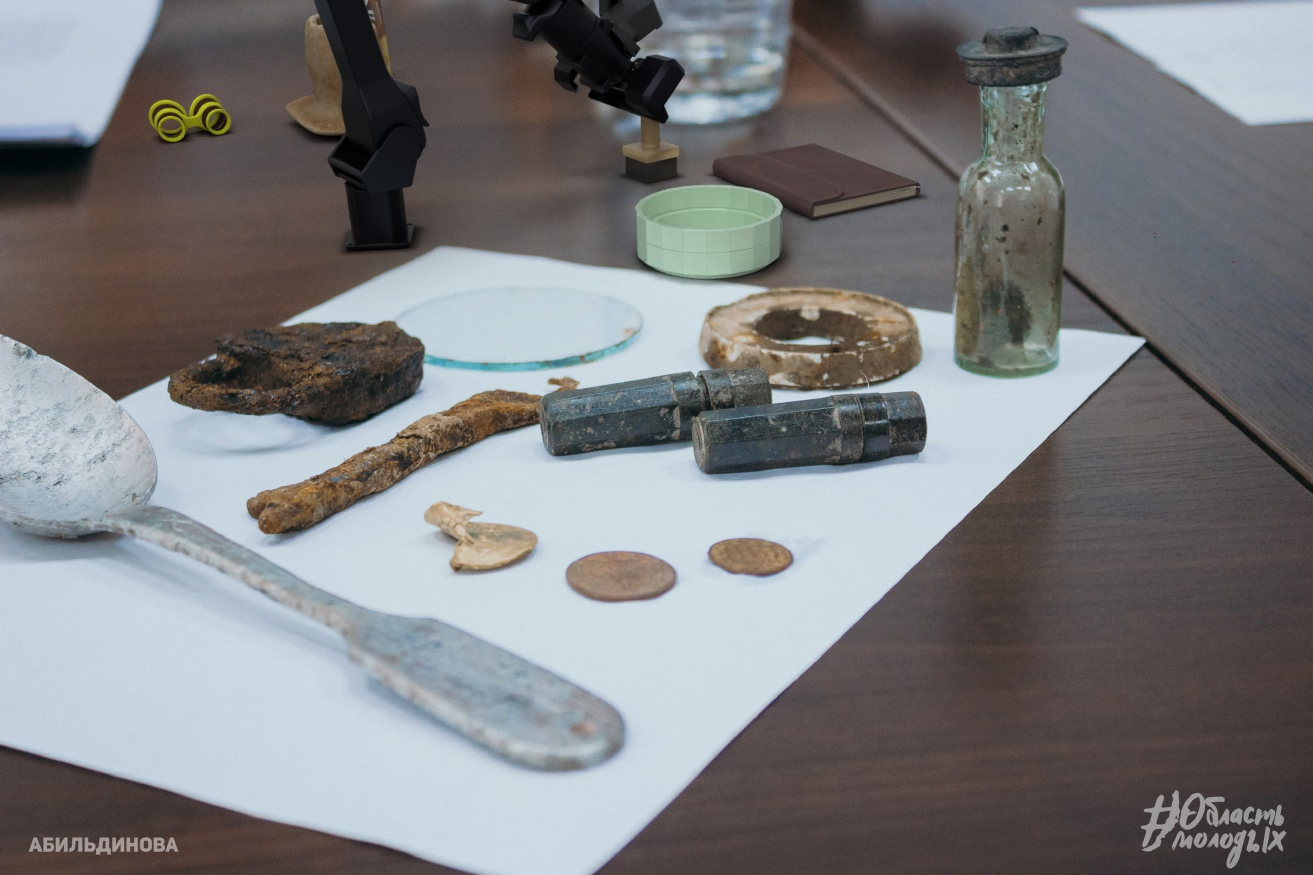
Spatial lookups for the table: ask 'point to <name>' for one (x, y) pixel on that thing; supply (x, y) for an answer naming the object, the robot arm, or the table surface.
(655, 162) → the brush
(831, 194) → the notebook
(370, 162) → the robot arm
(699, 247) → the bowl
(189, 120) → the opera glasses
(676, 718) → the table surface
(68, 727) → the table surface
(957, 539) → the table surface
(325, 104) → the stone cup
